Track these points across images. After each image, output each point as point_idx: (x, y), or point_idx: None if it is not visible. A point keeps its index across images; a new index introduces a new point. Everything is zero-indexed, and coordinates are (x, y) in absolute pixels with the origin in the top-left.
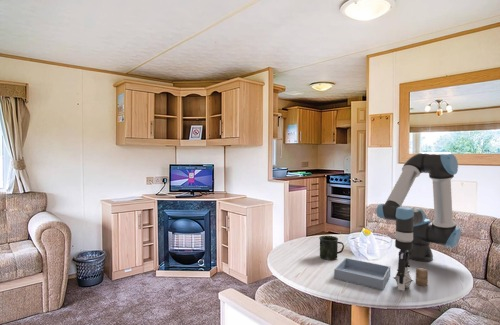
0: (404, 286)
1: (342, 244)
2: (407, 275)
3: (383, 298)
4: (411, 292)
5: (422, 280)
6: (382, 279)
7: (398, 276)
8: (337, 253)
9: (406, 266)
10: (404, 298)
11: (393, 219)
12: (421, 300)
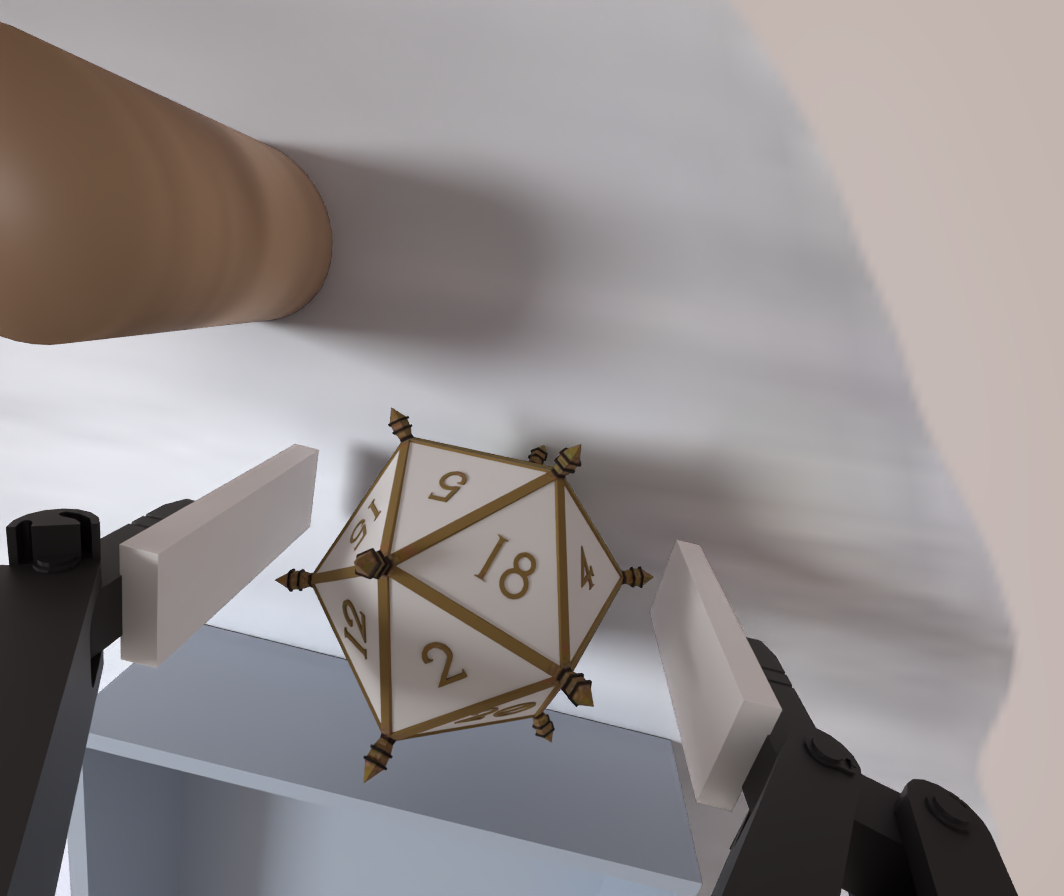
0: (713, 579)
1: None
2: (507, 580)
3: (888, 756)
4: (625, 431)
5: (279, 223)
6: (681, 888)
7: (729, 789)
8: None
9: (102, 595)
10: (843, 544)
11: None
12: (867, 334)
